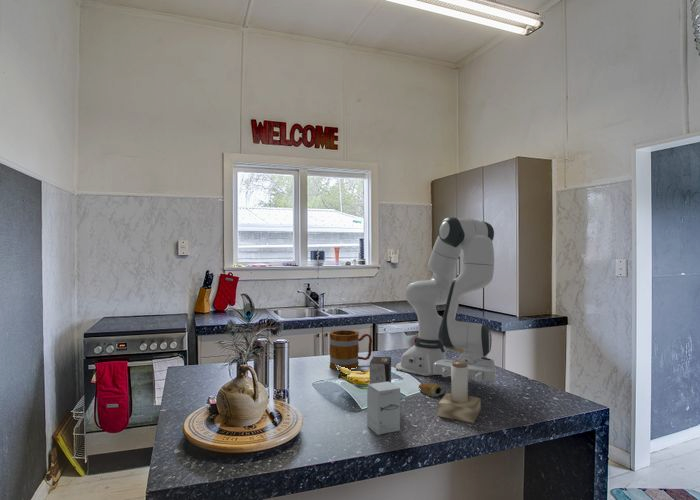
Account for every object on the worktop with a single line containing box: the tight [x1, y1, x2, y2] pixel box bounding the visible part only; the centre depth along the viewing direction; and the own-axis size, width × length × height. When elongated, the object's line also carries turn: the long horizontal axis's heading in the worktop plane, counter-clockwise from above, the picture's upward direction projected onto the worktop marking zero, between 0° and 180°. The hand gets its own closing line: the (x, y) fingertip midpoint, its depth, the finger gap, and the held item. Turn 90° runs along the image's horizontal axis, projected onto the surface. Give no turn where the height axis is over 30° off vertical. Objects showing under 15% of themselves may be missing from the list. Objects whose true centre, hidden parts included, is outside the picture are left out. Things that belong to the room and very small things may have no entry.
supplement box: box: [366, 382, 401, 436], centre depth 125 cm, size 7×7×13 cm
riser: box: [437, 392, 482, 424], centre depth 137 cm, size 11×11×4 cm
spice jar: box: [450, 360, 469, 403], centre depth 137 cm, size 5×5×12 cm
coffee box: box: [369, 356, 392, 384], centre depth 141 cm, size 9×6×16 cm
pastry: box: [418, 382, 444, 398], centre depth 156 cm, size 9×7×4 cm
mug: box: [329, 329, 373, 371], centre depth 191 cm, size 20×14×15 cm
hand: (459, 376), depth 136 cm, fingers open, 8 cm apart
